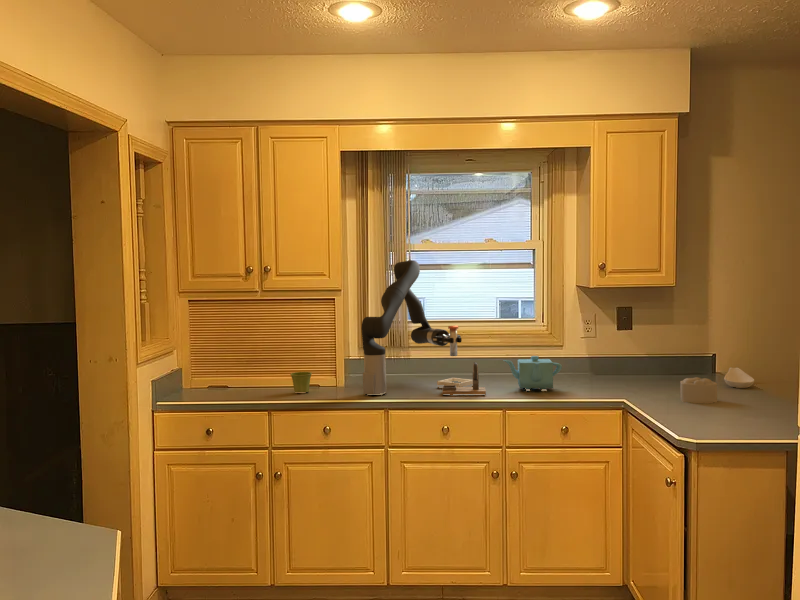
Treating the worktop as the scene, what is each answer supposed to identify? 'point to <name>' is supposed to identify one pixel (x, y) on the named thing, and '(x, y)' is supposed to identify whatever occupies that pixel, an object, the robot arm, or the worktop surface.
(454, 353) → the capped test tube
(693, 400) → the beige bumpy block
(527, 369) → the teakettle
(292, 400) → the worktop surface
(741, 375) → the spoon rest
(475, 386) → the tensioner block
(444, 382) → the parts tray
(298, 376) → the plant pot
